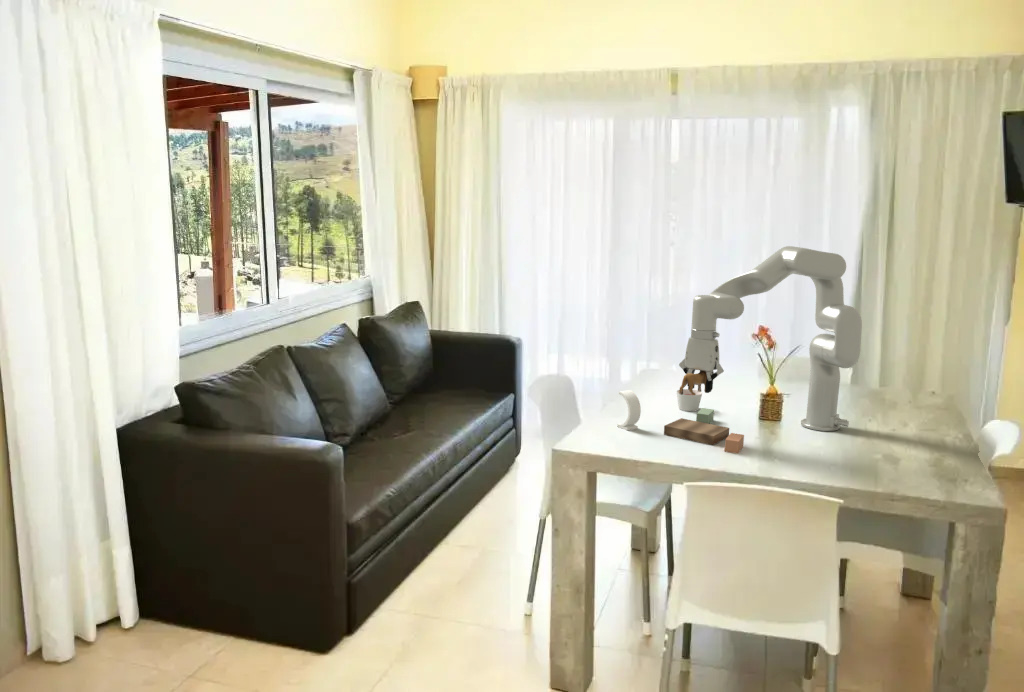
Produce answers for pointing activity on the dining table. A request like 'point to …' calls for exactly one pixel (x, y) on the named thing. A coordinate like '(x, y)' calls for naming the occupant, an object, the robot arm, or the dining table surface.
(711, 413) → the sage brick
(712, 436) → the walnut plinth
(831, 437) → the dining table surface
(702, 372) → the lion figurine
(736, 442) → the terracotta brick
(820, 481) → the dining table surface
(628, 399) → the white crescent moon figurine
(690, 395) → the candle
